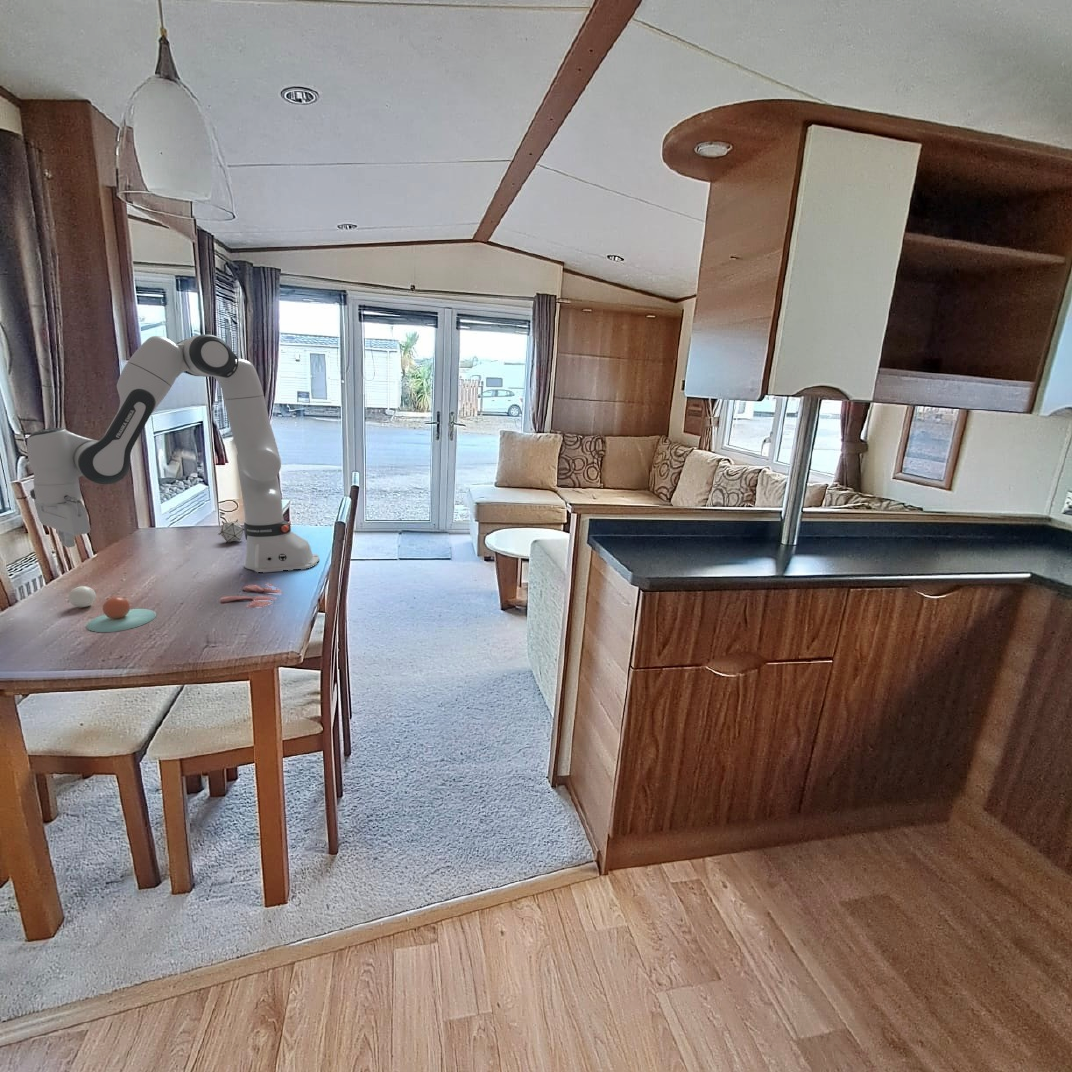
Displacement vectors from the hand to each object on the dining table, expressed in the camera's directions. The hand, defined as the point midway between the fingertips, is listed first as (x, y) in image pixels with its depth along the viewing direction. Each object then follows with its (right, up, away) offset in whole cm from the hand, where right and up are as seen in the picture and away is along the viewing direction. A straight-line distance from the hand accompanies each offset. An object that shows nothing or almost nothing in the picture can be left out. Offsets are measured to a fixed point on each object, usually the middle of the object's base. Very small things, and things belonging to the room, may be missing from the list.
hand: (68, 546), depth 149 cm
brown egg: (+18, -15, -7) cm, 24 cm away
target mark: (+19, -18, -7) cm, 28 cm away
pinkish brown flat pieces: (+42, -15, +12) cm, 46 cm away
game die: (+10, 0, +62) cm, 62 cm away
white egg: (+4, -13, -1) cm, 14 cm away
